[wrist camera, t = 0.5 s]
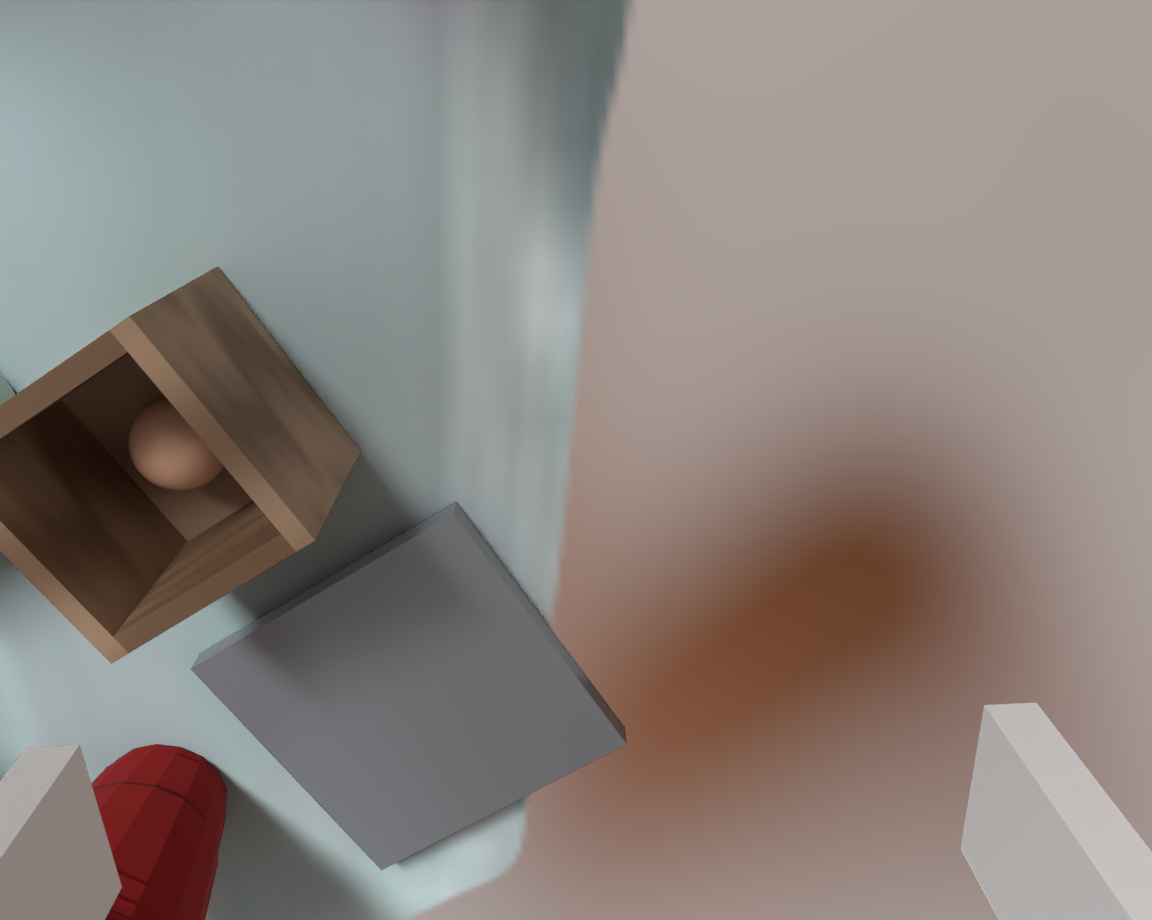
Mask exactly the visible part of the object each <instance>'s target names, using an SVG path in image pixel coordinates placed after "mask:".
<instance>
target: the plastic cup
mask: <svg viewBox="0 0 1152 920" xmlns="http://www.w3.org/2000/svg"><path fill="white" fill-rule="evenodd" d="M92 788H93V791H94V795H95V798H96V801H97V805H98V808H99V811H100V815H101V818H102V822H103V825H104V828H105V832H106V835H107V838H108V842H109V845H110V848H111V852H112V855H113V859H114V862H115V865H116V869H117V872H118V875H119V879H120V882H121V886H122V888H121V890H120V892H119V894H118V896H117V898H116V900H115V901H114V903H113V905H112V907H111V909H110V911H109V913H108V915H107V917H106V919H105V920H205V917H206V913H207V908H208V904H209V900H210V895H211V891H212V886H213V882H214V878H215V873H216V869H217V864H218V850H219V845H220V841H221V836H222V832H223V828H224V823H225V819H226V788H225V785H224V783H223V781H222V779H221V777H220V775H219V773H218V771H217V770H216V769H214V768H213V767H212V766H211V765H210V764H209V763H208V762H207V761H206V760H205V759H204V758H202V757H201V756H199V755H196V754H194V753H192V752H190V751H187V750H185V749H183V748H181V747H174V746H166V745H157V744H155V745H150V746H145V747H140V748H136V749H133V750H131V751H130V752H128V753H127V754H125V755H124V756H122V757H121V758H119V759H118V760H116V761H115V762H114V763H113V764H111V765H110V766H108V767H107V768H106V769H105V770H104V771H103V772H102V773H101V774H100V775H99V776H98V777H97V778H96V779H95V780H94V782H93V783H92Z"/></svg>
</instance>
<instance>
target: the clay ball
mask: <svg viewBox="0 0 1152 920" xmlns="http://www.w3.org/2000/svg"><path fill="white" fill-rule="evenodd" d="M128 447H129V453H130V457H131V459H132V462H133V464H134V465H135V467H136V469H137V470H138V471H139V472H140V474H141V475H142V476H143V477H145V478H146V479H147V480H148V481H150V482H151V483H153V484H155V485H157V486H159V487H162V488H165V489H170V490H190V489H194V488H198V487H201V486H203V485H205V484H207V483H208V482H210V481H211V480H213V479H214V478H215V477H216V476H217V475H218V474H219V473H220V472H221V471H222V470H223V468H224V465H223V464H222V463H221V462H220V461H219V460H218V458H217V457H216V456H215V455H214V454H213V452H212V451H211V450H210V449H209V448H208V447H207V445H206V444H205V443H204V442H203V441H202V439H201V438H200V437H199V436H198V435H197V433H196V432H195V431H194V430H193V429H192V428H191V426H190V425H189V424H188V423H187V422H186V420H185V419H184V418H183V417H182V416H181V414H180V413H179V412H178V411H177V410H176V409H175V407H174V406H173V405H172V404H171V403H170V401H169V400H168V399H167V398H162V399H160V400H157V401H155V402H153V403H151V404H150V405H148V406H147V407H146V408H144V409H143V410H142V411H141V412H140V413H139V415H138V416H137V417H136V419H135V420H134V422H133V424H132V426H131V429H130V432H129V439H128Z"/></svg>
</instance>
